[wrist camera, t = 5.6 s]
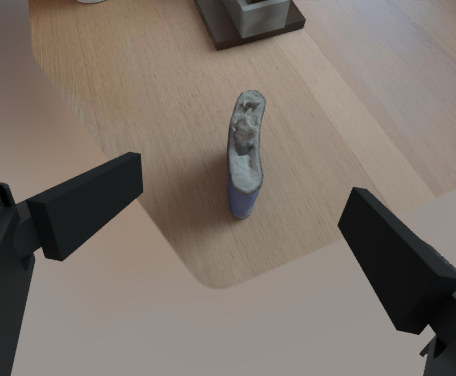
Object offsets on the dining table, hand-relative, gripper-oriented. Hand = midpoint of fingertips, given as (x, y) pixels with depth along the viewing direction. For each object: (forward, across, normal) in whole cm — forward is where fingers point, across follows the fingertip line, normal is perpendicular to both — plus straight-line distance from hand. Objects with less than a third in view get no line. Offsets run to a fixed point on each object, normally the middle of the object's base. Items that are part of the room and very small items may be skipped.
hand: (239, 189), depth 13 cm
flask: (+10, 0, -4) cm, 11 cm away
